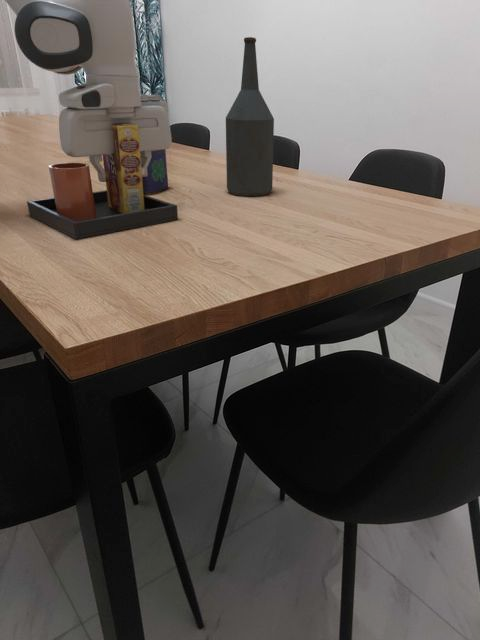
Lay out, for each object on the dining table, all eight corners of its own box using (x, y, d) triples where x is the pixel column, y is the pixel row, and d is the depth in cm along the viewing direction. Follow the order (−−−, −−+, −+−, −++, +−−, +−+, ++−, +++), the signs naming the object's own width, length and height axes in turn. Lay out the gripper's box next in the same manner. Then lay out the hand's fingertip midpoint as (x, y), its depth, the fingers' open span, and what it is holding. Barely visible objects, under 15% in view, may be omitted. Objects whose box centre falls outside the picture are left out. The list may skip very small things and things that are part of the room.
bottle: (264, 186, 120) (267, 39, 105) (277, 195, 111) (282, 36, 97) (222, 188, 117) (219, 37, 102) (232, 197, 109) (230, 34, 94)
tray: (76, 239, 80) (73, 223, 79) (29, 215, 93) (26, 201, 92) (178, 219, 92) (177, 205, 91) (124, 200, 105) (123, 187, 103)
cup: (68, 225, 85) (58, 170, 81) (52, 218, 89) (42, 164, 85) (102, 219, 89) (95, 166, 85) (86, 212, 93) (78, 161, 89)
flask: (161, 186, 118) (157, 137, 112) (172, 188, 117) (169, 138, 111) (138, 194, 110) (133, 142, 105) (149, 195, 109) (145, 143, 104)
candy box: (147, 213, 93) (139, 124, 86) (125, 216, 91) (114, 125, 84) (129, 204, 100) (119, 119, 92) (107, 206, 97) (96, 120, 90)
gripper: (156, 93, 94) (162, 170, 101) (48, 94, 82) (63, 182, 88) (175, 94, 90) (180, 175, 97) (65, 96, 78) (79, 188, 84)
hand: (123, 178), depth 92 cm, fingers open, 6 cm apart
